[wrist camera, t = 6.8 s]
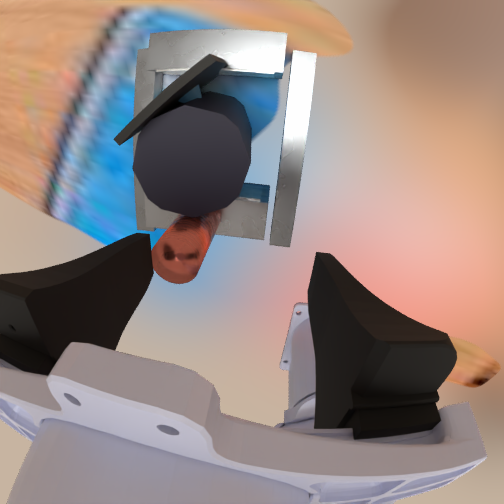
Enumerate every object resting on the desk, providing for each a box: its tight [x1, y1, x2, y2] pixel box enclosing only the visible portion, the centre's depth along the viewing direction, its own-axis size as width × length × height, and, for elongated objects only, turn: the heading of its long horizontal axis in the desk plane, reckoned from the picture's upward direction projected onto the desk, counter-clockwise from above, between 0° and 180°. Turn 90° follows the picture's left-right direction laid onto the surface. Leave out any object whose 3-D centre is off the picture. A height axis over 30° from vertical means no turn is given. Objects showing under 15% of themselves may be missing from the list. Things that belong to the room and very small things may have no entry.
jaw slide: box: [144, 183, 270, 284], centre depth 17 cm, size 3×8×10 cm, turn 85°
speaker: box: [114, 53, 251, 218], centre depth 15 cm, size 8×6×10 cm
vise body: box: [133, 29, 317, 247], centre depth 18 cm, size 14×12×4 cm
